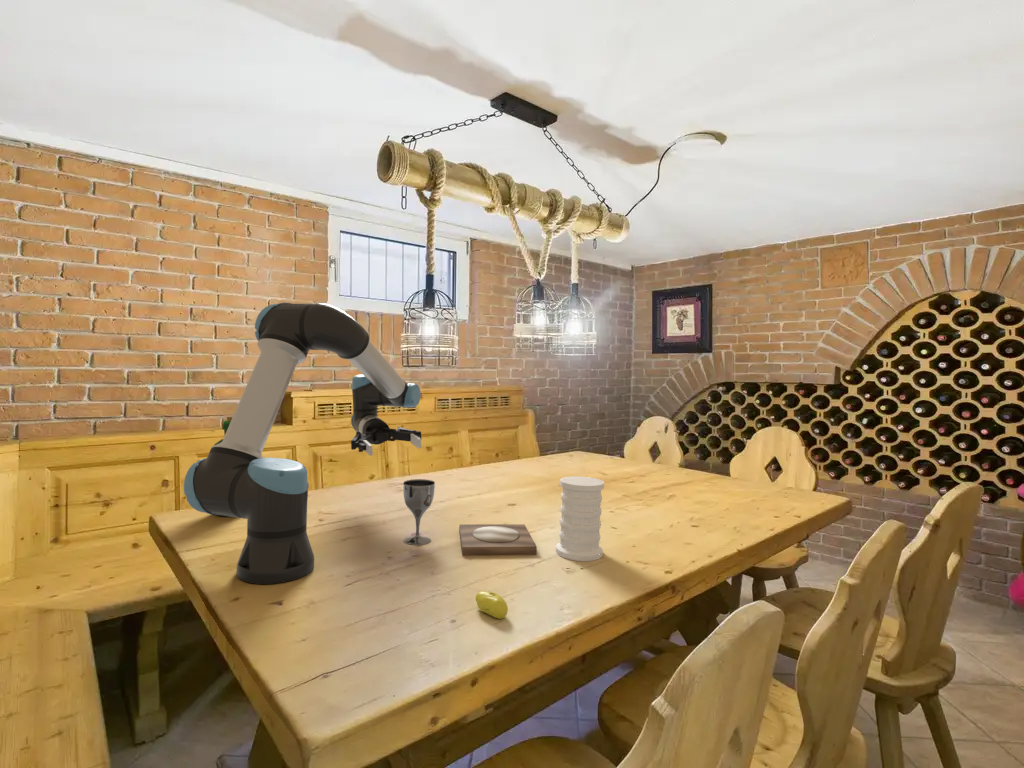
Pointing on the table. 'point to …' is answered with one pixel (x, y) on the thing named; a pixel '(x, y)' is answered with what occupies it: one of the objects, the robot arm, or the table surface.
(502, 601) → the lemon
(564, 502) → the decorative container
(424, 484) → the silver goblet
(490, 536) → the dock
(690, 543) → the table surface
